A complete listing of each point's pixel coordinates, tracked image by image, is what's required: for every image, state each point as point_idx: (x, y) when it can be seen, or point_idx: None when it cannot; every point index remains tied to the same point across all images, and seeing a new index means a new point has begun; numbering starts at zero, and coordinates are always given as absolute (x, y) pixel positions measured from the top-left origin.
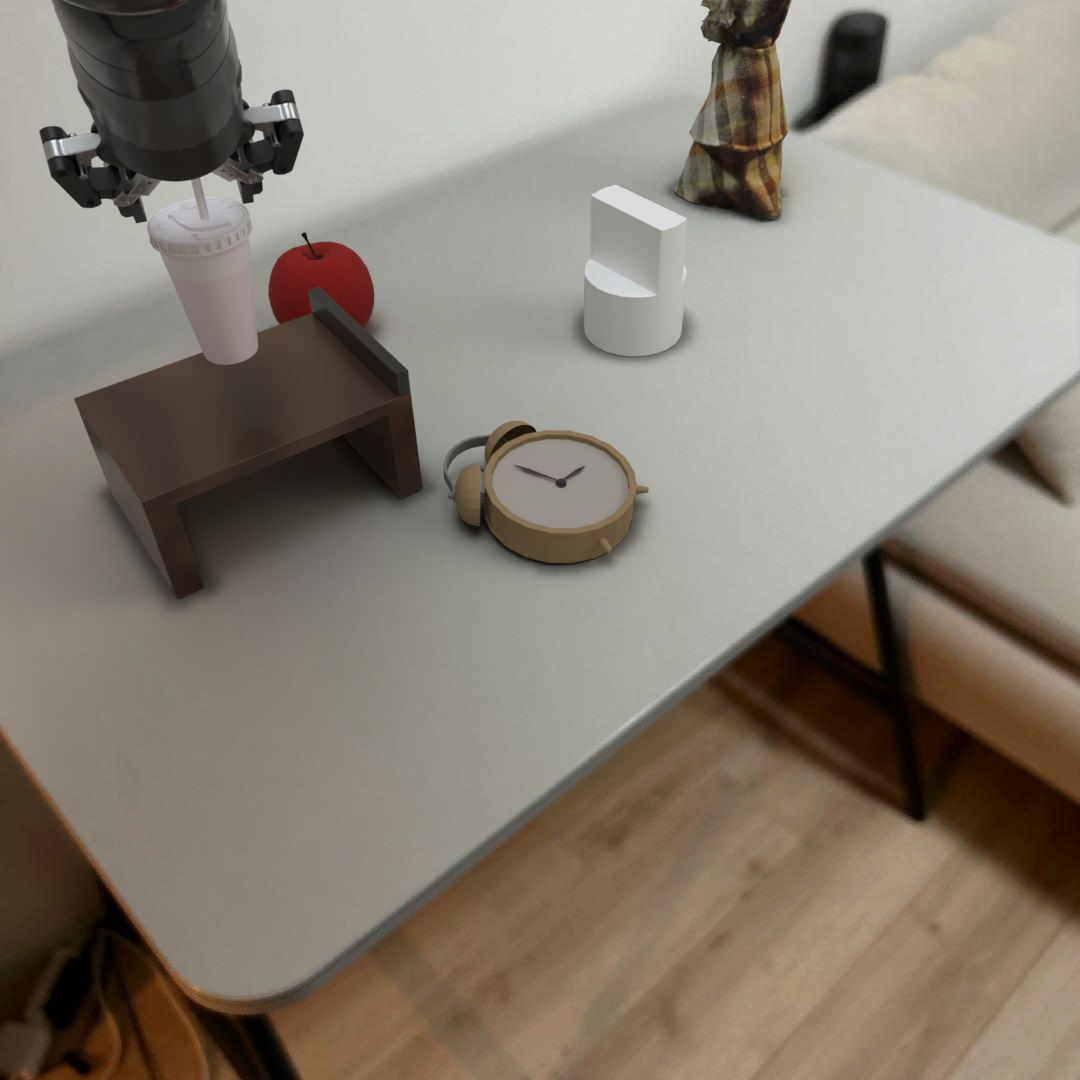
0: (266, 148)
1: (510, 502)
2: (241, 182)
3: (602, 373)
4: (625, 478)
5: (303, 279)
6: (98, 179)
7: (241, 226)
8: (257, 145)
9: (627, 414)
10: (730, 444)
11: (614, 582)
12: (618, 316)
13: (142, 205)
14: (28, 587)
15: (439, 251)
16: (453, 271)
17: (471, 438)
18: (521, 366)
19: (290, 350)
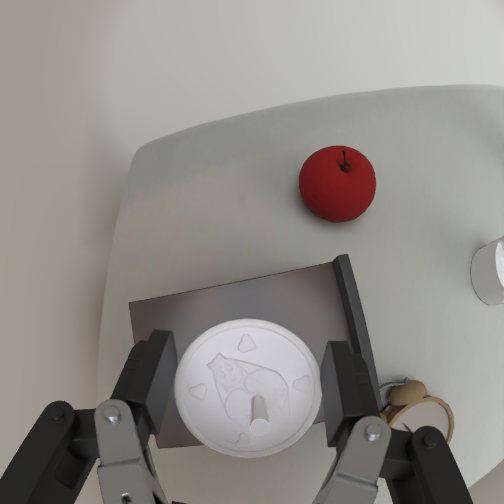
0: (399, 469)
1: None
2: (330, 444)
3: (469, 313)
4: (446, 437)
5: (331, 190)
6: (88, 449)
7: (302, 434)
8: (389, 464)
9: (467, 356)
10: (492, 395)
11: None
12: (496, 293)
13: (169, 373)
14: (106, 372)
15: (408, 145)
16: (414, 168)
17: (391, 385)
18: (434, 287)
19: (303, 312)
